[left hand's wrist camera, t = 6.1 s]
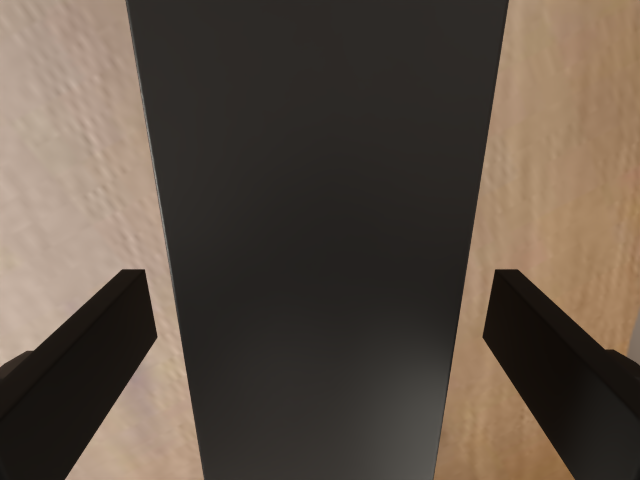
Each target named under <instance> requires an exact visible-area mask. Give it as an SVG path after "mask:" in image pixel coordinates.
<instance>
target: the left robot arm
mask: <svg viewBox="0 0 640 480" xmlns="http://www.w3.org/2000/svg"><path fill="white" fill-rule="evenodd" d="M156 339H157V332H156V326H155V321H154V316H153V311H152V305H151V300H150V295H149V289H148V284H147V279H146V273H145V269H122V270H121V271H120V272H119V273H118V274H117V275H116V276H115V277H113V278H112V279H111V280H110V281H109V282H108V283H107V284H106V285H105V286H104V287H103V288H102V289H100V290H99V291H98V292H97V293H96V294H95V295H94V296H93V297H92V298H91V299H90V300H88V301H87V302H86V303H85V304H84V305H83V306H82V307H81V308H80V309H79V310H78V311H77V312H75V313H74V314H73V315H72V316H71V317H70V318H69V319H68V320H67V321H66V322H65V323H63V324H62V325H61V326H60V327H59V328H58V329H57V330H56V331H55V332H54V333H53V334H51V335H50V336H49V337H48V338H47V339H46V340H45V341H44V342H43V343H42V344H41V345H40V346H38V347H37V348H36V349H35V350H34V351H26V352H24V353H22V354H21V355H19V356H17V357H15V358H14V359H12V360H10V361H9V362H7V363H5V364H4V365H2V366H1V367H0V480H65V479H66V477H67V476H68V474H69V472H70V471H71V469H72V468H73V466H74V465H75V463H76V462H77V460H78V459H79V457H80V456H81V454H82V453H83V451H84V449H85V448H86V446H87V445H88V443H89V442H90V440H91V439H92V437H93V436H94V434H95V433H96V431H97V429H98V428H99V426H100V425H101V423H102V422H103V420H104V419H105V417H106V416H107V414H108V413H109V411H110V409H111V408H112V406H113V405H114V403H115V402H116V400H117V399H118V397H119V396H120V394H121V393H122V391H123V390H124V388H125V386H126V385H127V383H128V382H129V380H130V379H131V377H132V376H133V374H134V373H135V371H136V370H137V368H138V366H139V365H140V363H141V362H142V360H143V359H144V357H145V356H146V354H147V353H148V351H149V350H150V348H151V346H152V345H153V343H154V342H155V340H156ZM483 339H484V340H485V342H486V343H487V345H488V347H489V348H490V350H491V351H492V353H493V354H494V356H495V357H496V359H497V360H498V362H499V363H500V365H501V366H502V368H503V370H504V371H505V373H506V374H507V376H508V377H509V379H510V380H511V382H512V383H513V385H514V386H515V388H516V390H517V391H518V393H519V394H520V396H521V397H522V399H523V400H524V402H525V403H526V405H527V406H528V408H529V409H530V411H531V413H532V414H533V416H534V417H535V419H536V420H537V422H538V423H539V425H540V426H541V428H542V429H543V431H544V433H545V434H546V436H547V437H548V439H549V440H550V442H551V443H552V445H553V446H554V448H555V449H556V451H557V453H558V454H559V456H560V457H561V459H562V460H563V462H564V463H565V465H566V466H567V468H568V469H569V471H570V472H571V474H572V476H573V477H574V479H575V480H640V366H639V365H638V364H637V363H636V362H634V361H633V360H631V359H629V358H627V357H626V356H624V355H622V354H620V353H619V352H617V351H615V350H605V349H604V348H603V347H602V346H600V345H599V344H598V343H597V342H596V341H595V340H594V339H593V338H592V337H591V336H590V335H588V334H587V333H586V332H585V331H584V330H583V329H582V328H581V327H580V326H579V325H578V324H577V323H575V322H574V321H573V320H572V319H571V318H570V317H569V316H568V315H567V314H566V313H565V312H563V311H562V310H561V309H560V308H559V307H558V306H557V305H556V304H555V303H554V302H553V301H552V300H550V299H549V298H548V297H547V296H546V295H545V294H544V293H543V292H542V291H541V290H540V289H538V288H537V287H536V286H535V285H534V284H533V283H532V282H531V281H530V280H529V279H528V278H527V277H525V276H524V275H523V274H522V273H521V272H520V271H519V270H518V269H495V273H494V279H493V284H492V289H491V295H490V300H489V305H488V310H487V316H486V321H485V326H484V332H483Z"/></svg>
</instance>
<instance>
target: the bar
mask: <svg viewBox="0 0 640 480" xmlns="http://www.w3.org/2000/svg"><path fill="white" fill-rule="evenodd" d="M508 3H509V0H126V6H127V12H128V18H129V24H130V30H131V36H132V42H133V48H134V55H135V61H136V67H137V73H138V79H139V85H140V91H141V97H142V103H143V109H144V116H145V122H146V128H147V134H148V140H149V146H150V152H151V158H152V164H153V170H154V177H155V183H156V189H157V195H158V201H159V207H160V213H161V219H162V225H163V231H164V238H165V244H166V250H167V256H168V262H169V268H170V274H171V280H172V286H173V292H174V298H175V305H176V311H177V317H178V323H179V329H180V335H181V341H182V347H183V353H184V359H185V366H186V372H187V378H188V384H189V390H190V396H191V402H192V408H193V414H194V420H195V427H196V433H197V439H198V445H199V451H200V457H201V463H202V469H203V475H204V480H433V479H434V473H435V466H436V460H437V454H438V447H439V441H440V435H441V428H442V422H443V416H444V409H445V403H446V397H447V390H448V384H449V377H450V371H451V365H452V358H453V352H454V346H455V339H456V333H457V327H458V320H459V314H460V308H461V301H462V295H463V289H464V282H465V276H466V270H467V263H468V257H469V250H470V244H471V238H472V231H473V225H474V219H475V212H476V206H477V200H478V193H479V187H480V181H481V174H482V168H483V162H484V155H485V149H486V143H487V136H488V130H489V124H490V117H491V111H492V104H493V98H494V92H495V85H496V79H497V73H498V66H499V60H500V54H501V47H502V41H503V35H504V28H505V22H506V16H507V9H508Z"/></svg>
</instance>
